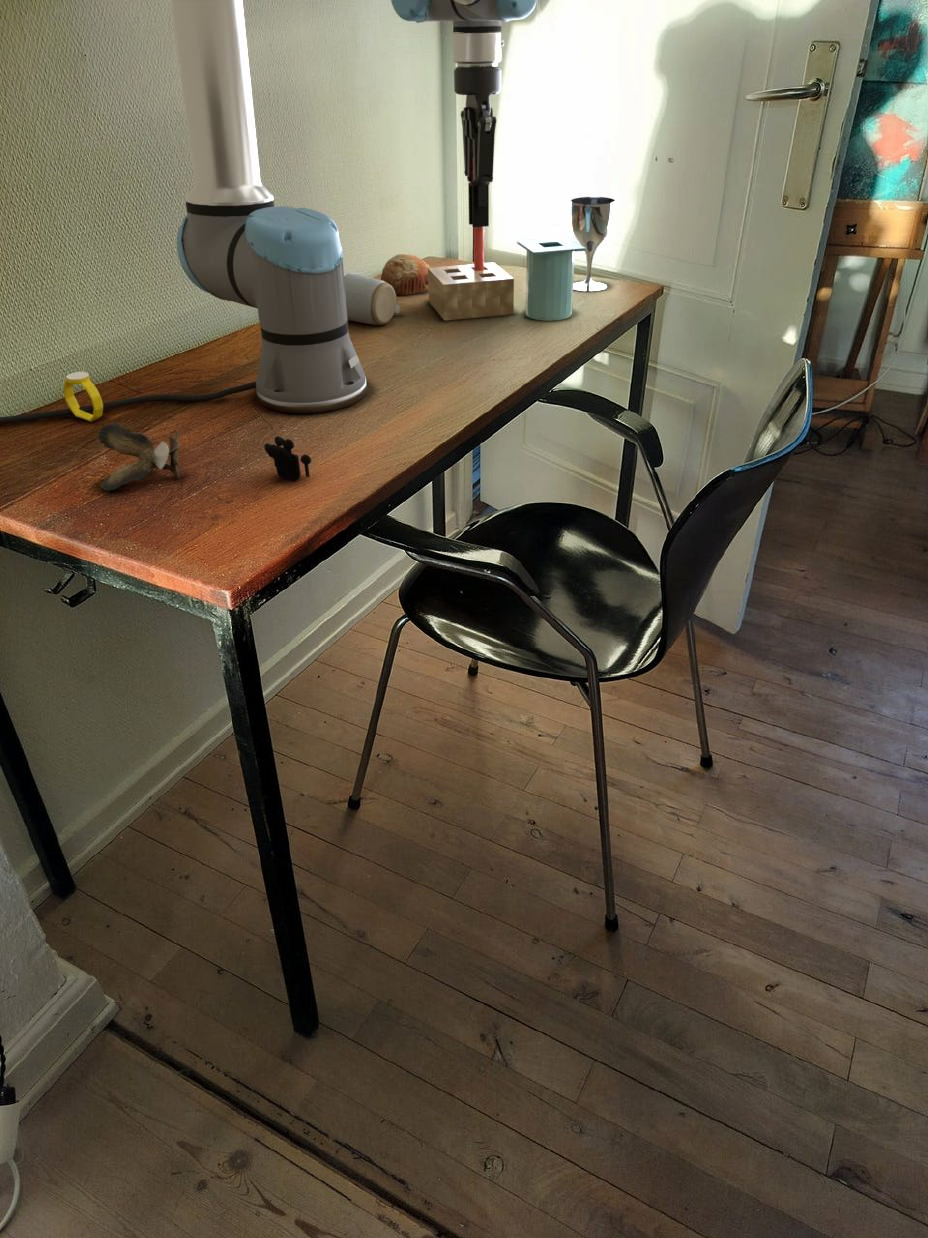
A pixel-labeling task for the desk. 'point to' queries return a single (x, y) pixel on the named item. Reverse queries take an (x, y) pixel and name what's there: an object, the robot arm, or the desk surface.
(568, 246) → the lid
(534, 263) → the light blue pen holder
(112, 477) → the eagle figurine
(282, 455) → the wireless earbuds
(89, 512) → the desk surface
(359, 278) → the ceramic mug
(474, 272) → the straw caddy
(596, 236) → the wine glass
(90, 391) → the watch
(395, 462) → the desk surface
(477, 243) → the straw
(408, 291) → the muffin
